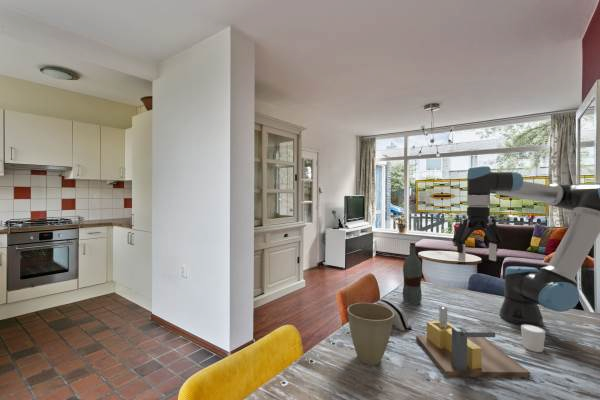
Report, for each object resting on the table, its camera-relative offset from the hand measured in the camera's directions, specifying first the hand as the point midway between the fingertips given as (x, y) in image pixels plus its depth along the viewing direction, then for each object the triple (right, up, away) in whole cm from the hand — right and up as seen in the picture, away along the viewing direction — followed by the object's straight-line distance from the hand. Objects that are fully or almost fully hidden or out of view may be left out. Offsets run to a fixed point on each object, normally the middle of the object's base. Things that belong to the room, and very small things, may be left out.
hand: (477, 260), depth 112 cm
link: (-17, -27, -15) cm, 36 cm away
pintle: (-18, -29, -10) cm, 35 cm away
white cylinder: (+14, -29, -10) cm, 34 cm away
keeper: (-17, -29, -25) cm, 42 cm away
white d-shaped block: (-30, -29, +11) cm, 43 cm away
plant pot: (-46, -29, -18) cm, 57 cm away
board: (-13, -29, -16) cm, 35 cm away
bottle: (-12, -28, +34) cm, 46 cm away
